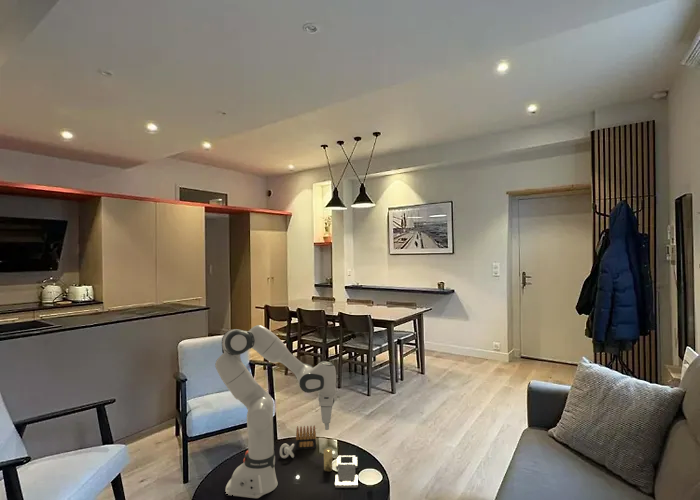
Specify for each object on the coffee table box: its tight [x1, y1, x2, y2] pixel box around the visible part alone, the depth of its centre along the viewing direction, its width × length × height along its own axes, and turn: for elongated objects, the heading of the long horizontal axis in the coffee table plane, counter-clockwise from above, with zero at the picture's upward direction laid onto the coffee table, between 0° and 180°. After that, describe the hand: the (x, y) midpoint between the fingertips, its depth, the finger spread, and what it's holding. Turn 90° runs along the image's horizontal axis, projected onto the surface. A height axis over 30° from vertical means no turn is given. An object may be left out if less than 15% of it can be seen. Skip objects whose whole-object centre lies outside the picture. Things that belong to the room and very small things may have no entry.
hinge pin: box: [323, 447, 333, 473], centre depth 190 cm, size 4×4×9 cm
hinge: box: [334, 455, 359, 489], centre depth 187 cm, size 10×24×6 cm, turn 0°
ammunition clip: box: [295, 425, 317, 450], centre depth 211 cm, size 11×2×12 cm, turn 96°
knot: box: [279, 443, 296, 459], centre depth 203 cm, size 8×8×6 cm
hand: (327, 424), depth 190 cm, fingers open, 8 cm apart
